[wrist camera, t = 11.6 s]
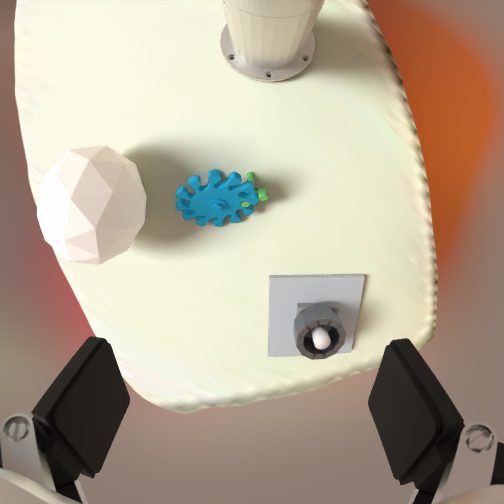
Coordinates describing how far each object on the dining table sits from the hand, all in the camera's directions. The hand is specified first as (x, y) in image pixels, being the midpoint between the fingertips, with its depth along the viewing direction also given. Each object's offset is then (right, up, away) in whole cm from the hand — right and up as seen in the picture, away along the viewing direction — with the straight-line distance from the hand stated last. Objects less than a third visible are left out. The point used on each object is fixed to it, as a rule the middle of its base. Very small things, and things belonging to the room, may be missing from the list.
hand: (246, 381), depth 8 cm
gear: (-3, +12, +28) cm, 31 cm away
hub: (+10, -6, +31) cm, 33 cm away
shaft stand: (+10, -6, +34) cm, 35 cm away
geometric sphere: (-19, +12, +28) cm, 37 cm away
